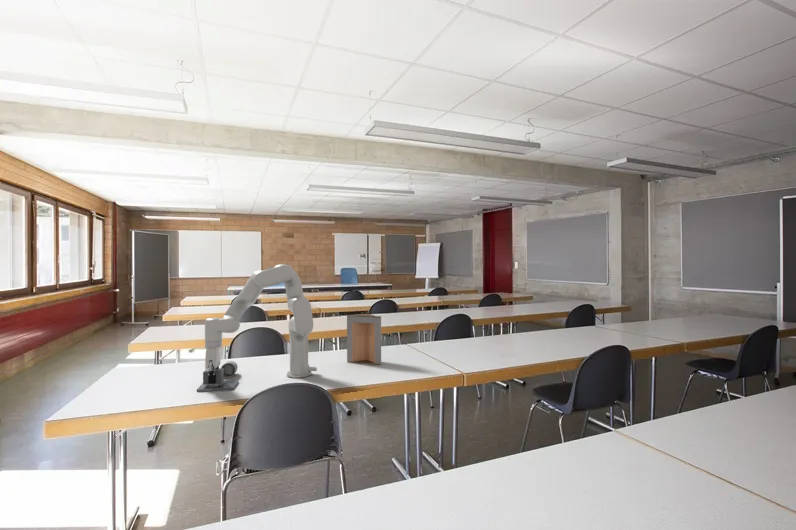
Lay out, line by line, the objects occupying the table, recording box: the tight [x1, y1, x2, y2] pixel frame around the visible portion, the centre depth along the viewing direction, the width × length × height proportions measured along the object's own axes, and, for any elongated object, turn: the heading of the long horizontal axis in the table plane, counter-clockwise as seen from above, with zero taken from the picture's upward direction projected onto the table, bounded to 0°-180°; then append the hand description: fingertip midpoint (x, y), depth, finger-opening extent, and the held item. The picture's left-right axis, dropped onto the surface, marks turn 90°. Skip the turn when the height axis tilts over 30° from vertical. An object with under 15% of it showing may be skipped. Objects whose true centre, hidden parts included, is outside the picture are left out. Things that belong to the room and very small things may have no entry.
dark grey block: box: [202, 367, 225, 385], centre depth 196 cm, size 8×6×6 cm
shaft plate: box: [196, 379, 239, 393], centre depth 197 cm, size 16×12×5 cm
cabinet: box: [346, 313, 382, 366], centre depth 244 cm, size 21×10×28 cm, turn 73°
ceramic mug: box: [220, 360, 238, 379], centre depth 216 cm, size 11×8×8 cm
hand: (213, 381), depth 196 cm, fingers closed on dark grey block, 5 cm apart
